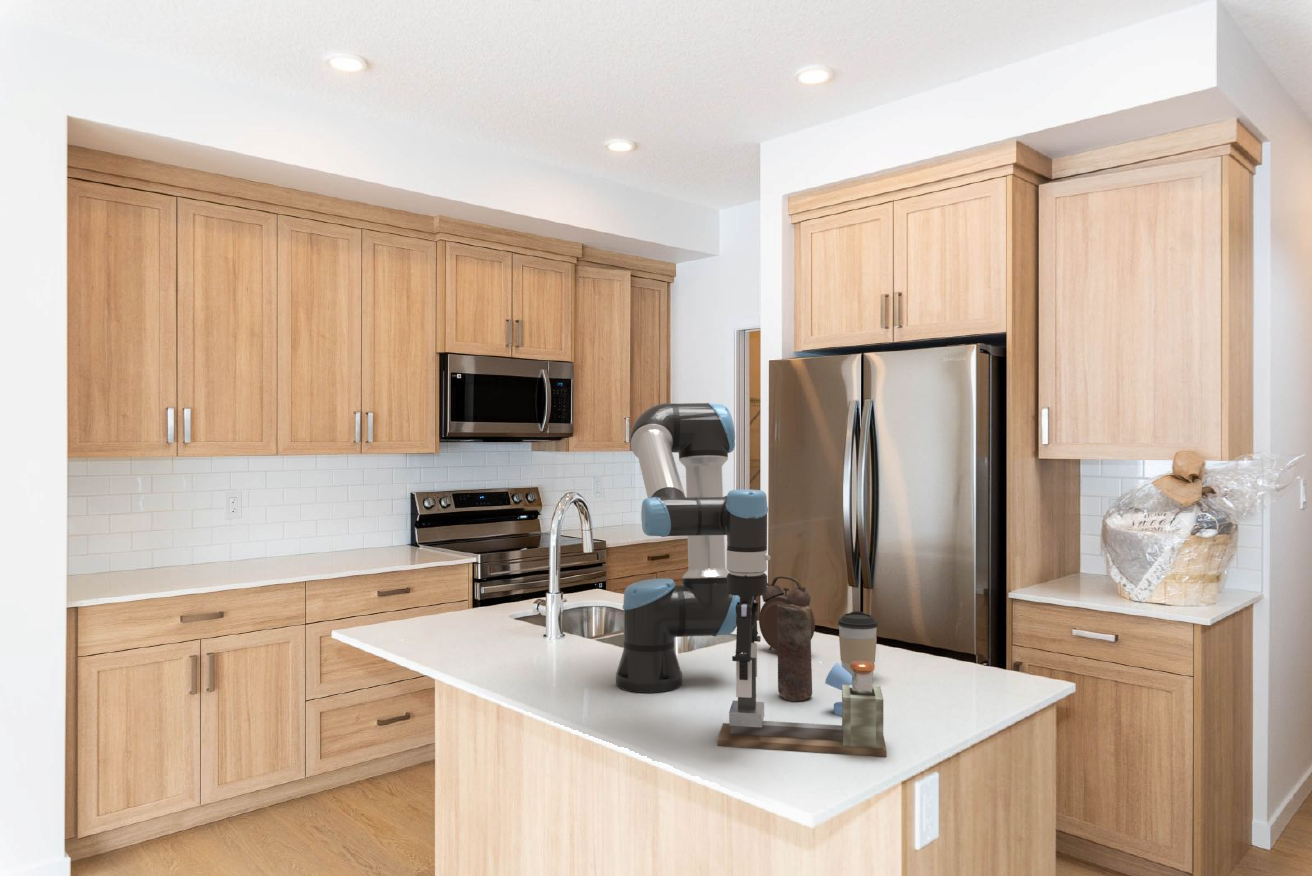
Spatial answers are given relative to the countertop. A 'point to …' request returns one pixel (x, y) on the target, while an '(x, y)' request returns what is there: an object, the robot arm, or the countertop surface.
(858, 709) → the rail
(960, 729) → the countertop surface
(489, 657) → the countertop surface
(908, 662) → the countertop surface
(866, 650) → the coffee cup
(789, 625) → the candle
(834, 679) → the spotlight
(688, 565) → the robot arm
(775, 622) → the alarm clock
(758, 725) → the carriage
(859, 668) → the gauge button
